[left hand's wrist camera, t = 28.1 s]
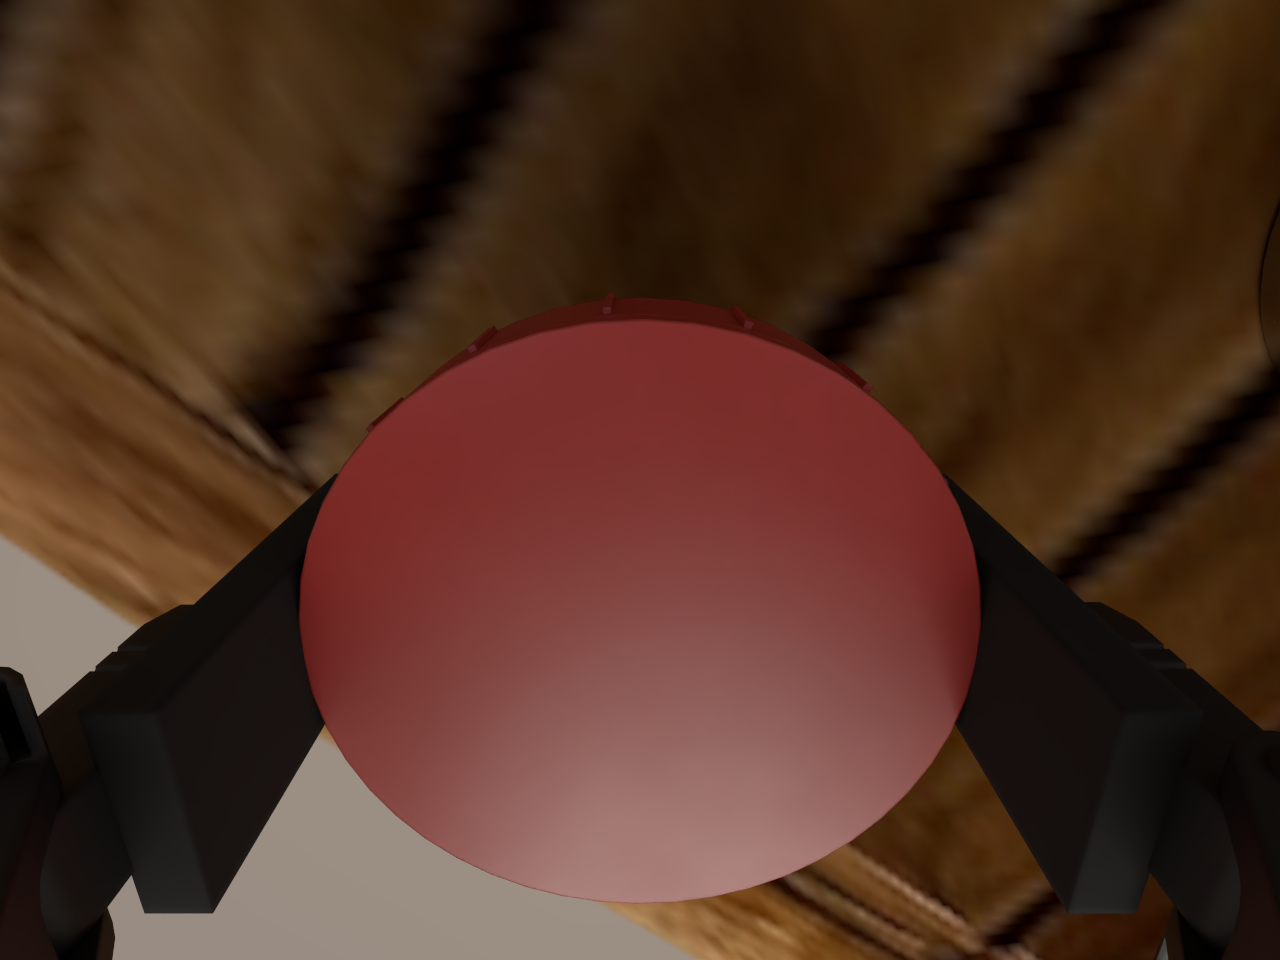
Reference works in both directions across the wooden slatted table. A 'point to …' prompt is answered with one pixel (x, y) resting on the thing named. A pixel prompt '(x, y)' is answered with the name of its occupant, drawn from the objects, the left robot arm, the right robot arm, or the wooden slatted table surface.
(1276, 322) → the jar
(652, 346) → the lid
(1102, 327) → the wooden slatted table surface
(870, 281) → the wooden slatted table surface
